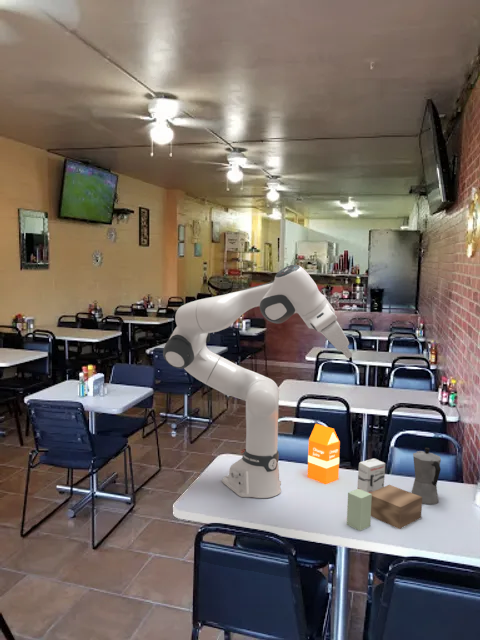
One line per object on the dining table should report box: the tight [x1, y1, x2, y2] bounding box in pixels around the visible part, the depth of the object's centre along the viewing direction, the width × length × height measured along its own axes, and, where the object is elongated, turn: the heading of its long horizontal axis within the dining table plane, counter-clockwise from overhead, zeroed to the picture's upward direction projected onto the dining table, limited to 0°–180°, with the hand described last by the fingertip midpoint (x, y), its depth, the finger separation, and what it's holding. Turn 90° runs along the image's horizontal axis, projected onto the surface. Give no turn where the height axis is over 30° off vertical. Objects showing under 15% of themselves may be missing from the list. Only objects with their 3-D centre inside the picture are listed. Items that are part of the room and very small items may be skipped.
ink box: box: [356, 458, 386, 493], centre depth 176 cm, size 8×5×12 cm, turn 123°
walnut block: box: [370, 484, 423, 530], centre depth 161 cm, size 12×12×7 cm
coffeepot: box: [411, 447, 442, 506], centre depth 172 cm, size 15×9×18 cm, turn 6°
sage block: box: [346, 488, 372, 532], centre depth 154 cm, size 5×5×10 cm
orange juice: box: [307, 423, 341, 485], centre depth 189 cm, size 8×9×20 cm
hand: (345, 352), depth 146 cm, fingers open, 8 cm apart
